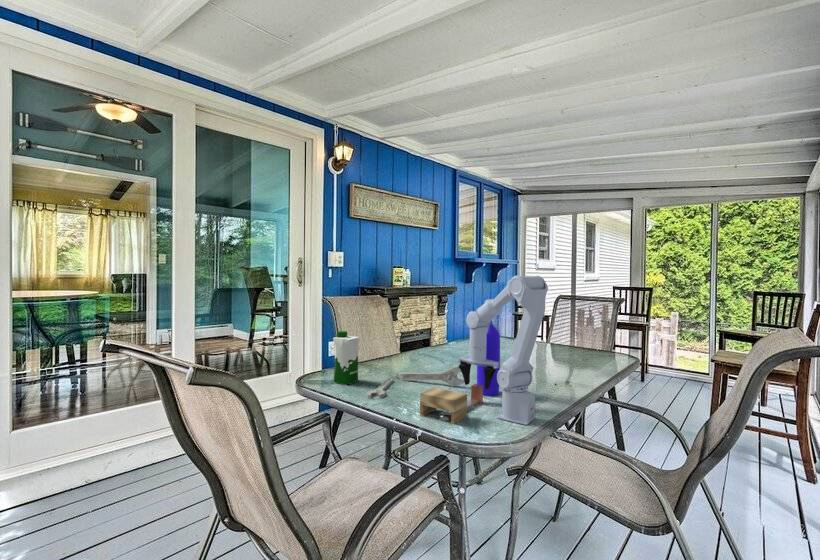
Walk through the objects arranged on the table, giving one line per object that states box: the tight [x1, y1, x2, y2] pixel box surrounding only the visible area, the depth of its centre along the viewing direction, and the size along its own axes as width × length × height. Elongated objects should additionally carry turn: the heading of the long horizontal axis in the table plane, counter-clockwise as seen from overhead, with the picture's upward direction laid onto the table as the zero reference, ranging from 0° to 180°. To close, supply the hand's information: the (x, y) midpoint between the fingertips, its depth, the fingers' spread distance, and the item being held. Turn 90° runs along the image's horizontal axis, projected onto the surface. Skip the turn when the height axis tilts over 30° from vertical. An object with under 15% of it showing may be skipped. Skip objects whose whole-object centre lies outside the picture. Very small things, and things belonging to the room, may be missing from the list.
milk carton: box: [332, 330, 361, 385], centre depth 169 cm, size 9×9×20 cm
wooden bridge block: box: [419, 387, 468, 425], centre depth 130 cm, size 12×8×7 cm, turn 55°
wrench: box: [395, 365, 465, 388], centre depth 168 cm, size 8×2×30 cm
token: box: [438, 411, 451, 423], centre depth 128 cm, size 4×4×2 cm
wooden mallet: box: [467, 383, 484, 412], centre depth 139 cm, size 3×17×6 cm, turn 145°
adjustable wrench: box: [366, 377, 394, 399], centre depth 160 cm, size 25×6×2 cm, turn 164°
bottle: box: [476, 320, 501, 397], centre depth 156 cm, size 8×8×30 cm
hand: (477, 386), depth 144 cm, fingers open, 7 cm apart
